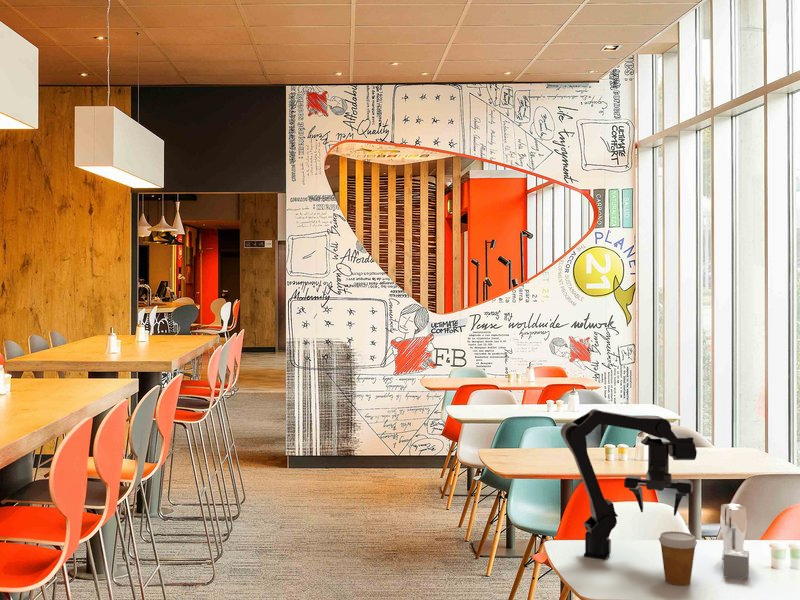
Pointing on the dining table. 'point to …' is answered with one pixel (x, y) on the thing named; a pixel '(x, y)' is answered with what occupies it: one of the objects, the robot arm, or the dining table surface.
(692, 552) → the disposable coffee cup
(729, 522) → the beer glass
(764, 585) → the dining table surface
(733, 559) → the grey cube
